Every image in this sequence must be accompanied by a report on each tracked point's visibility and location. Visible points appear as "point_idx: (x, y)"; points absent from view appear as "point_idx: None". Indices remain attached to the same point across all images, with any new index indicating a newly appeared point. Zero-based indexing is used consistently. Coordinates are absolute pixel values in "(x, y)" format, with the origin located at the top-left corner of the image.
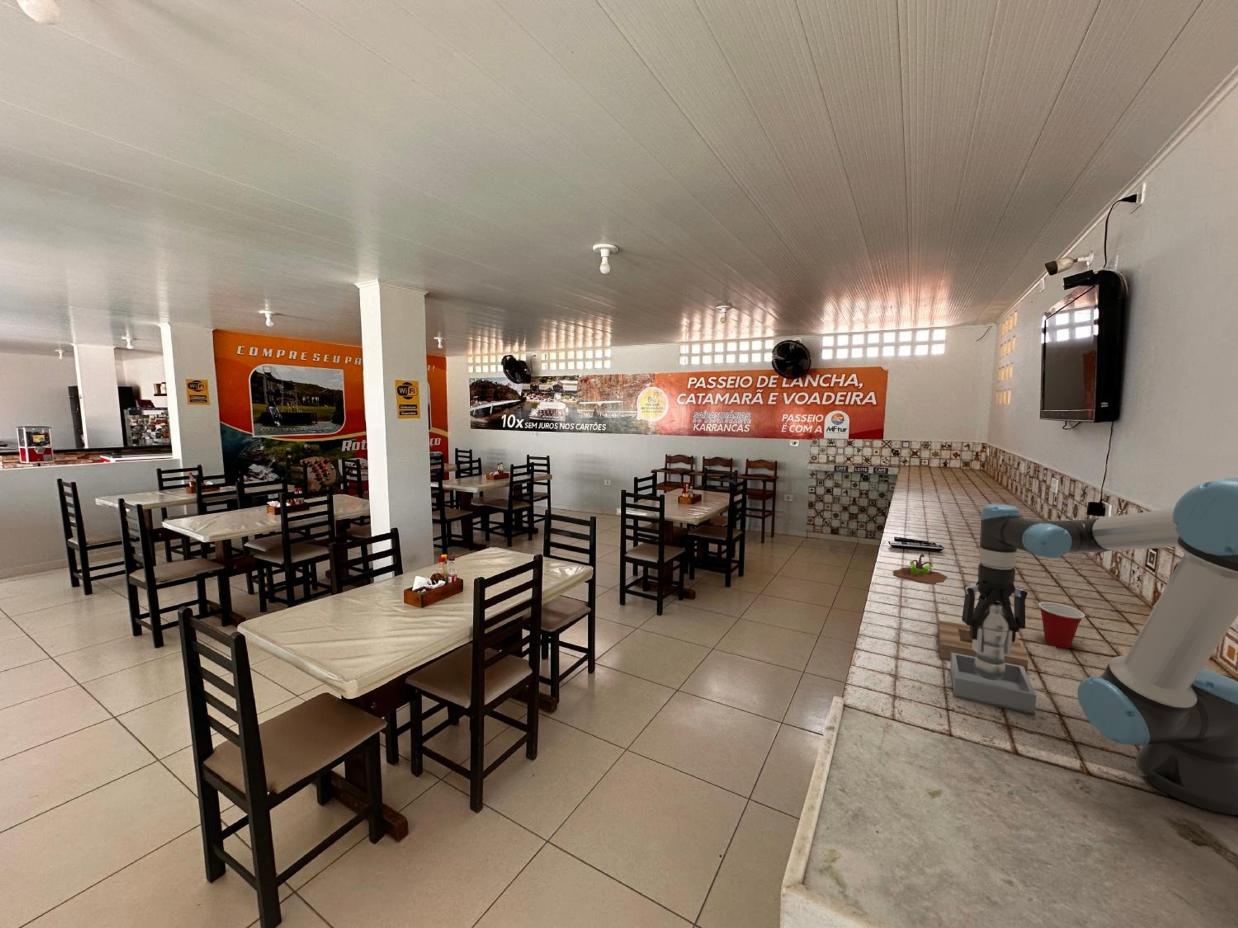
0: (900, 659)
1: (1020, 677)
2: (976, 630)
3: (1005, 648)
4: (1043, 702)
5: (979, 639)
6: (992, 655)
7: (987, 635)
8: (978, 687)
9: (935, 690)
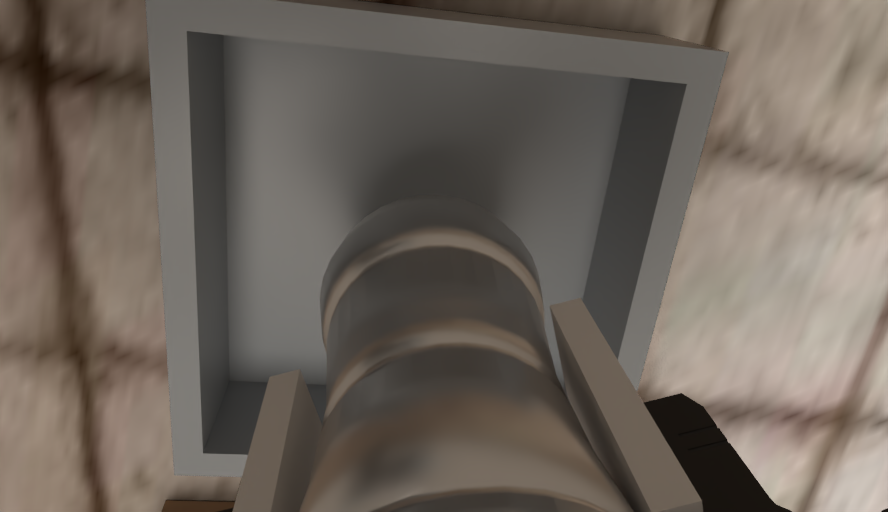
0: (827, 410)
1: (213, 365)
2: (701, 493)
3: (306, 438)
4: (117, 202)
5: (621, 393)
6: (452, 288)
7: (558, 438)
8: (554, 29)
9: (756, 77)
